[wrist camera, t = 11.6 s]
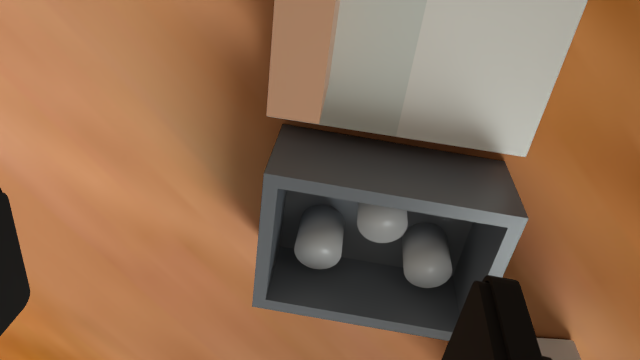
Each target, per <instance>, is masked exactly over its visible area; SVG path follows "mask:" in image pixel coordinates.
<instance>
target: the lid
mask: <svg viewBox="0 0 640 360" xmlns="http://www.w3.org/2000/svg"><path fill="white" fill-rule="evenodd" d="M587 1H588V0H274V14H273V29H272V43H271V57H270V71H269V85H268V100H267V114H266V116H268V117H273V118H280V119H286V120H292V121H299V122H305V123H312V124H318V125H324V126H331V127H337V128H343V129H350V130H356V131H363V132H369V133H375V134H382V135H388V136H395V137H401V138H407V139H414V140H420V141H426V142H433V143H439V144H446V145H452V146H458V147H465V148H471V149H478V150H484V151H490V152H497V153H503V154H509V155H516V156H522V157H526V155H527V153H528V150H529V148H530V145H531V143H532V140H533V137H534V135H535V132H536V130H537V127H538V125H539V122H540V120H541V117H542V115H543V112H544V110H545V107H546V105H547V102H548V100H549V97H550V94H551V92H552V89H553V87H554V84H555V82H556V79H557V77H558V74H559V72H560V69H561V67H562V64H563V62H564V59H565V57H566V54H567V51H568V49H569V46H570V44H571V41H572V39H573V36H574V34H575V31H576V29H577V26H578V24H579V21H580V19H581V16H582V14H583V11H584V9H585V6H586V3H587Z"/></svg>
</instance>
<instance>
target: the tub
mask: <svg viewBox="0 0 640 360" xmlns="http://www.w3.org/2000/svg"><path fill="white" fill-rule="evenodd" d="M527 221H528V216H527V214H526V211H525V209H524V206H523V204H522V202H521V199H520V197H519V194H518V192H517V190H516V187H515V185H514V182H513V180H512V178H511V175H510V173H509V170H508V168H507V166H506V163H505V161H499V160H493V159H488V158H482V157H476V156H470V155H464V154H458V153H452V152H446V151H440V150H434V149H428V148H422V147H417V146H411V145H405V144H399V143H393V142H387V141H381V140H375V139H369V138H363V137H357V136H351V135H346V134H340V133H334V132H328V131H322V130H316V129H310V128H304V127H298V126H292V125H286V124H283V125H282V127H281V130H280V133H279V135H278V138H277V140H276V143H275V146H274V148H273V151H272V153H271V156H270V159H269V161H268V164H267V167H266V169H265V172H264V178H263V189H262V201H261V212H260V223H259V235H258V246H257V257H256V269H255V280H254V292H253V303H252V307H258V308H264V309H269V310H275V311H281V312H287V313H292V314H298V315H304V316H309V317H315V318H321V319H327V320H332V321H338V322H344V323H349V324H355V325H361V326H367V327H372V328H378V329H384V330H389V331H395V332H401V333H407V334H412V335H418V336H424V337H429V338H435V339H441V340H446V341H449V340H450V338H451V335H452V333H453V330H454V328H455V325H456V323H457V320H458V318H459V316H460V313H461V311H462V308H463V306H464V303H465V301H466V298H467V296H468V293H469V291H470V288H471V286H472V284H473V282H474V281H483V279H484V277H485V276H486V275H491V276H496V277H501V278H502V277H503V274H504V272H505V270H506V268H507V265H508V263H509V261H510V259H511V256H512V254H513V252H514V250H515V247H516V245H517V243H518V241H519V239H520V236H521V234H522V232H523V230H524V227H525V225H526V223H527Z"/></svg>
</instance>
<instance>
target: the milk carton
mask: <svg viewBox="0 0 640 360" xmlns="http://www.w3.org/2000/svg"><path fill="white" fill-rule="evenodd" d="M537 341H538V345H539V348H540V351H541V354H542V356H545V357H549V358H551V359H552V360H581V358H580V355H579V353H578V350H577V348H576V345H575V343H574V341H572V340H564V339H548V338H537Z"/></svg>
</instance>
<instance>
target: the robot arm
mask: <svg viewBox="0 0 640 360" xmlns="http://www.w3.org/2000/svg"><path fill="white" fill-rule="evenodd" d="M29 296H30V288H29V283H28V279H27V275H26V271H25V266H24V262H23V258H22V254H21V249H20V245H19V241H18V237H17V233H16V228H15V224H14V220H13V216H12V211H11V207H10V203H9V199H8V196H7V195H6V194H5V193H2V190H1V188H0V336H1V335H2V333H3V332H4V331H5V330H6V329H7V327H8V326H9V325H10V324H11V323H12V322H13V320H14V319H15V318H16V317H17V316H18V314H19V313H20V312H21V311H22V310H23V309H24V307H25V306H26V304H27V302H28V299H29ZM442 360H552V359H551V358H549V357H545V356H542V354H541V351H540V348H539V345H538V341H537V338H536V335H535V332H534V328H533V325H532V322H531V319H530V316H529V312H528V309H527V306H526V303H525V299H524V296H523V293H522V290H521V286H520V284H519V282H518V281H516V280H512V279H507V278H501V277H496V276H491V275H486V276H485V277H484V279H483V281H474V282H473V284H472V286H471V288H470V291H469V293H468V296H467V298H466V301H465V303H464V306H463V308H462V311H461V313H460V316H459V318H458V320H457V323H456V325H455V328H454V330H453V333H452V335H451V338H450V340H449V343H448V345H447V348H446V350H445V353H444V355H443V358H442Z"/></svg>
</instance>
